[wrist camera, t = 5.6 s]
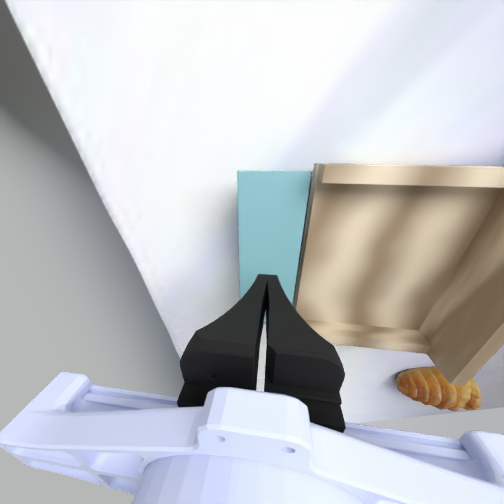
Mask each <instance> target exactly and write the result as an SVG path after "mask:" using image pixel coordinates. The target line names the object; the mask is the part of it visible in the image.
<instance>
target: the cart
mask: <svg viewBox="0 0 504 504" xmlns="http://www.w3.org/2000/svg"><path fill="white" fill-rule="evenodd" d="M293 307H294V308H295V310H296V311H297V312H298V313H299V315H300V316H301V317H302V318H303V319H304V320H305V321H306V322H307V323H308V325H309V326H310V327H311V328H312V329H314V330H315V331H316V332H317V333H318V334H319V335H320V336H322V337H323V338H324V339H325V340H327V341H328V342H329V343H331V344H339V345H348V346H358V347H367V348H377V349H386V350H396V351H405V352H415V353H424V354H427V355H428V356H429V358H430V359H431V360H432V361H433V363H434V364H435V365H436V367H437V368H438V369H439V371H440V372H441V373H442V374H443V376H444V377H445V378H446V380H447V381H448V382H449V383H450V384H453V385H461V386H465V385H466V384H467V383H468V382H469V380H470V379H471V378H472V377H473V376H474V375H475V374H476V373H477V372H478V371H479V370H480V369H481V368H482V367H483V365H484V364H485V363H486V362H487V361H488V360H489V359H490V358H491V357H492V356H493V355H494V354H495V353H496V352H497V351H498V349H499V348H500V347H501V346H502V345H503V344H504V167H498V166H437V165H376V164H314V170H313V177H312V183H311V190H310V197H309V203H308V210H307V217H306V224H305V230H304V237H303V244H302V250H301V257H300V264H299V271H298V277H297V284H296V291H295V298H294V304H293Z"/></svg>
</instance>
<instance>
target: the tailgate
mask: <svg viewBox="0 0 504 504" xmlns="http://www.w3.org/2000/svg"><path fill="white" fill-rule="evenodd" d="M310 179H311V172H308V171H237V182H238V230H239V277H240V299H241V298H242V297H243V296H244V295H245V293H246V292H247V291H248V290H249V288H250V287H251V286H252V284H253V283H254V281H255V279H256V277H257V275H258V274H269V275H277V276H278V278H279V281H280V284H281V286H282V288H283V290H284V292H285V294H286V296H287V298H288V299H289V301H290V302H291V304H292V303H293V296H294V289H295V283H296V276H297V269H298V262H299V255H300V248H301V241H302V234H303V227H304V220H305V214H306V207H307V200H308V193H309V186H310ZM264 323H266V311H265V317H264Z"/></svg>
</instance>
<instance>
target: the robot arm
mask: <svg viewBox="0 0 504 504" xmlns="http://www.w3.org/2000/svg"><path fill="white" fill-rule="evenodd" d="M265 311H266V335H267V349H266V367H265V385H264V392H261V391H256V385H257V372H258V360H259V348H260V340H261V334H262V328H263V323H264V317H265ZM180 367H181V371H182V375H183V378H184V381H185V383H184V385H183V388H182V390H181V393H180V395H179V398H177V397H171V396H164V395H157V394H150V393H143V392H137V391H129V390H123V389H116V388H109V387H103V386H96V385H93V383H92V381H91V379H90V378H89V377H88V376H86V375H83V374H79V373H71V372H65V371H64V372H61V373H60V374H59V375H58V376H57V377H56V378H55V379H54V380H53V381H52V382H51V383H50V384H49V385H47V386H46V387H45V388H44V389H43V390H42V391H41V393H39V395H37V396H36V397H35V398H34V400H32V401H31V402H30V403H29V404H28V405H27V406H26V407H25V408H24V409H23V410H22V411H21V412H20V413H19V414H18V415H17V416H16V417H15V418H14V419H13V420H12V421H11V422H10V423H9V424H8V425H7V426H6V427H5V428H4V429H3V430H2V431H1V432H0V447H1V448H3V449H4V450H6V451H7V452H8V453H10V454H11V455H13V456H14V457H16V458H17V459H19V460H20V461H22V462H23V463H24V464H26V465H27V466H29V467H33V468H37V469H42V470H47V471H51V472H55V473H59V474H63V475H67V476H71V477H74V478H77V479H81V480H85V481H88V482H91V483H95V484H99V485H102V486H105V487H108V488H112V489H115V490H119V491H122V492H126V493H129V494H132V495H135V497H134V499H133V502H132V504H504V434H500V433H494V432H486V431H479V430H471V431H467V432H465V433H464V434H462V436H461V437H460V439H455V438H448V437H441V436H434V435H428V434H421V433H414V432H407V431H401V430H394V429H387V428H380V427H373V426H367V425H360V424H353V423H347V422H344V418H343V414H342V410H341V407H340V405H341V397H340V394H339V391H340V388H341V386H342V383H343V381H344V377H345V372H344V368H343V365H342V363H341V360H340V358H339V356H338V354H337V352H336V350H335V348H334V346H333V345H332V344H331V343H329V342H328V341H327V340H325V339H324V338H323V337H322V336H320V335H319V334H318V333H317V332H316V331H315V330H314V329H312V328H311V327H310V326H309V325H308V323H307V322H306V321H305V320H304V319H303V318H302V317H301V316H300V315H299V313H298V312H297V311H296V310H295V308H294V307H293V305H292V304H291V302H290V301H289V299H288V298H287V296H286V294H285V292H284V290H283V288H282V286H281V284H280V281H279V278H278V276H277V275H269V274H258V275H257V277H256V279H255V281H254V283H253V284H252V286H251V287H250V288H249V290H248V291H247V292H246V293H245V295H244V296H243V297H242V298H241V299H240V300H239V301H238V302H237V303H236V304H235V305H234V306H233V307H232V308H231V309H230V310H229V311H227V312H226V313H225V314H224V315H222V316H221V317H219V318H218V319H217V320H215V321H214V322H212V323H210V324H209V325H207V326H205V327H203V328H201V329H199V330H197V331H196V332H195V334H194V335H193V337H192V338H191V340H190V341H189V343H188V345H187V347H186V349H185V351H184V353H183V355H182V357H181V360H180Z"/></svg>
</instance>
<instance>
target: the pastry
mask: <svg viewBox="0 0 504 504" xmlns="http://www.w3.org/2000/svg"><path fill="white" fill-rule="evenodd" d="M396 383H397V387H398V390H399V391H400V392H402V393H403V394H405V395H406V396H408V397H410V398H411V399H413V400H415V401H419V402H422V403H423V404H425V405H432V406H434V407H436V408H438V409H440V410H442V409H446V408H447V409H449V410H451V411H457V410H458V409H460V408H464V409H466V410H476V409H477V408H479V407H480V405H481V401H480V398H481V393H480V390H479V388H478V386H477V384H476V381H475V380H474V378H473V377H472V378H471V379H470V380H469V382H468V383H467V384H466V385H465V386H461V385H453V384H450V383H449V382H448V381H447V380H446V378H445V377H444V376H443V374H442V373H441V372H440V371H439V369H438V368H437V367H436V366H434V367H422V368H412V369H409V370H407V371H403V372H400V374H398V376H397V379H396Z"/></svg>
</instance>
